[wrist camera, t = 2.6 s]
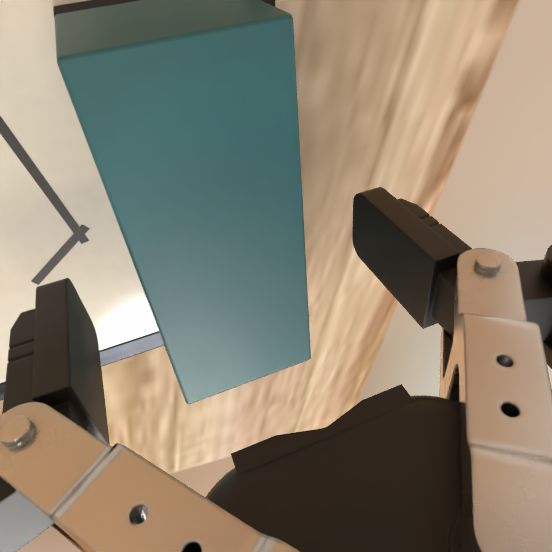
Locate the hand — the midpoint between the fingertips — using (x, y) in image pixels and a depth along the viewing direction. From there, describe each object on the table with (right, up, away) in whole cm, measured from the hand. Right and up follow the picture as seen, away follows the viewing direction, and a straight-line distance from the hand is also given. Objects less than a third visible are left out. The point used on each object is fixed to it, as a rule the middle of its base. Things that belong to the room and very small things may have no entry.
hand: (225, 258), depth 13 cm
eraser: (-2, +3, +4) cm, 5 cm away
